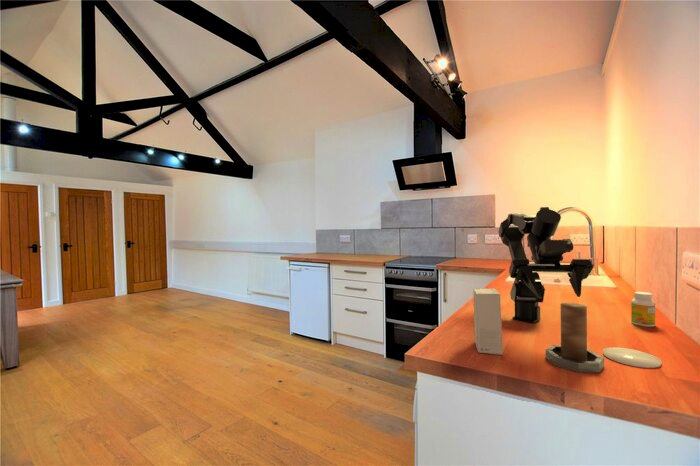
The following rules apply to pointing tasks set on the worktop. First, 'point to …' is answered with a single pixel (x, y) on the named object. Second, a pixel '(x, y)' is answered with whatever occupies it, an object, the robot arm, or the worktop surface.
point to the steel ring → (589, 366)
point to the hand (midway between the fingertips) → (558, 295)
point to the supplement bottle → (643, 309)
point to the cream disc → (632, 357)
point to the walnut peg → (574, 331)
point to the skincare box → (487, 321)
